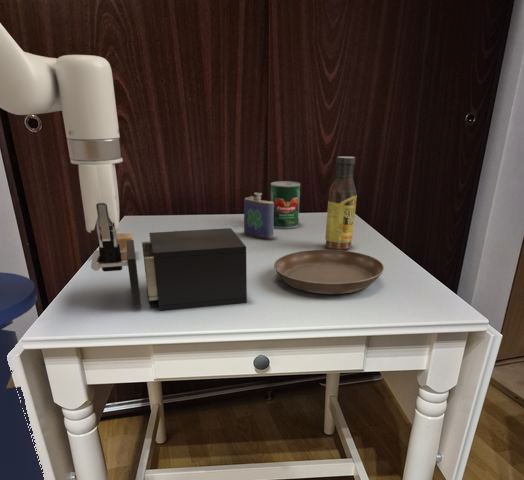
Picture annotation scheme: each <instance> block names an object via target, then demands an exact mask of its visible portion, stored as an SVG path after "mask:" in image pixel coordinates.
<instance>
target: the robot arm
mask: <svg viewBox="0 0 524 480" xmlns="http://www.w3.org/2000/svg"><path fill="white" fill-rule="evenodd" d="M112 70H113V69H112V66H111V64H110V62H109V60H107V59H106V58H104V57H102V56H98V55H90V54H66V55H61V56H59V57H58V58H56V57H50V56H49V57H48V56H42V55H38V54H33V53H30V52H28V51H27V52H26V51H24V50H23V49H22V48H21V47H20V46H19V44H18V43H17V42H16V41H15V40H14V38H13V37H12V36H11V34H10V33H9V32H8V31H7V29H6V28H5V27H4V26H3V25H2V23H1V22H0V109H2V110H3V111H6V112H7V113H10V114H13V115H18V116H29V115H41V114H49V113H55V112H61V113H62V119H63V124H64V130H65V136H66V143H67V148H68V154H69V159H70V164H72V165H78V179H79V186H80V195H81V200H82V206H83V214H84V221H85V222H84V224H85V230H86V232H88V233H89V234H90V233H92V231H95V228H96V234H97V238H98V239H97V240H98V243H99V244H98V250H99V252H100V259H101V263H108V262H123V260H121V253H120V245H119V244H118V241H117V234H118V233H117V231H118V230H119V229H120V197H119V188H118V179H117V170H116V164H120V163H123V161H124V160H123V154H122V153H123V152H122V144H121V136H120V129H119V120H118V112H117V105H116V95H115V86H114V78H113V71H112ZM101 270H102V272H114V271H115V272H116V271H117V272H119V271H122V270H123V266H115V267H101Z"/></svg>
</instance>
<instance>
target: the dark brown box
mask: <svg viewBox="0 0 524 480" xmlns="http://www.w3.org/2000/svg"><path fill="white" fill-rule="evenodd" d="M150 241H151V246H152V251H153V256H154V265H155V274H156V284H157V294H158V300H157V305H158V310H159V311H160V312H161V311H162V312H163V311H171V310H181V309H192V308H193V309H194V308H203V307H215V306H225V305H235V304H246V303H247V302H248V284H247V283H248V280H247V277H248V276H247V273H248V272H247V246H246V245H245V243H244V242H243V241H242V240H241V239H240V237H239V236H238V235H237V234H236V233H235V231H234V230H233V229H232V228H231V227H227V228H226V227H225V228H211V229H191V230H174V231H156V232H149V242H150Z"/></svg>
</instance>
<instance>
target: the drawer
mask: <svg viewBox="0 0 524 480" xmlns="http://www.w3.org/2000/svg"><path fill="white" fill-rule="evenodd" d="M141 246H142V254H143V265H144V273H145V281H146V288H147V289H146V290H147V296H148V301H149V302H153V301H154V302H155V301H158V294H157V284H156V274H155V265H154V256H153V251H152V246H151V241H150V240H149V241H142V242H141ZM120 253H121V255H127V260H122V262H108V263H101V259H100V252H99V249H97V250H94V251H93V252H92V258H91V264H90V268H91V269H92V270H93V271H96V272H97V271H99V270H100V269H101V268H102V267H115V266H122V267H127V269H128V276H129V284H130V291H131V292H130V293H131V301H132V306H133V307H141V305H142V304H141V293H140V282H139V274H138V266H137V259H136V258H137V257H136V250H135V241H134V239H132V240H127V251H120Z"/></svg>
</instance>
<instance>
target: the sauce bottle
mask: <svg viewBox="0 0 524 480" xmlns="http://www.w3.org/2000/svg"><path fill="white" fill-rule="evenodd" d="M355 165H356V157H355V156H347V155H346V156H337V157H336V172H335V173H336V174H335V179H334V181H333V183H332V184H331V186H330V188H329V193H328V200H327V214H326V225H325V247H326V248H327V249H328V250H343V251H346V250H348V249H350V248H351V247H352V242H353V237H354V235H353V234H354V227H355V217H356V208H357V197H358V195H357V191H356V185H355V182H354V168H355Z"/></svg>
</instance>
